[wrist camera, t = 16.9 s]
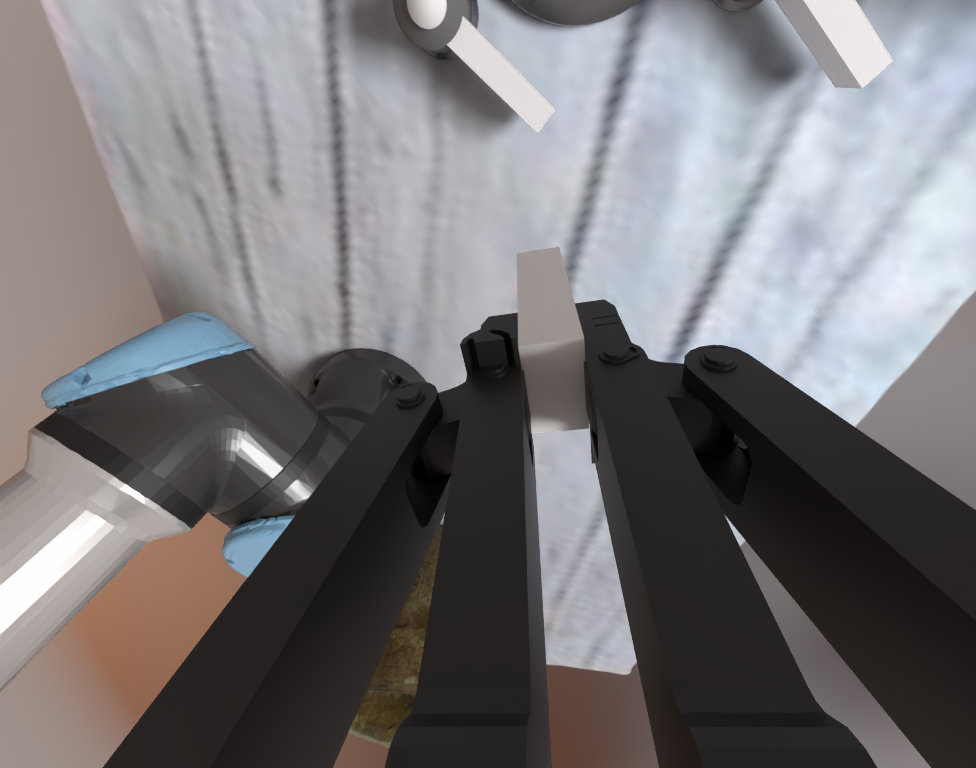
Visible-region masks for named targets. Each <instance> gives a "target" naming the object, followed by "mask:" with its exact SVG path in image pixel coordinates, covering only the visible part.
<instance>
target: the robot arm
mask: <svg viewBox="0 0 976 768" xmlns="http://www.w3.org/2000/svg"><path fill="white" fill-rule="evenodd" d="M517 299H518V313H513V314H505V315H498V316H491V317H488V318H487V319H486V321H485V322H484V323H483V324H482V325H481V330H478V331H475V332H473V333H471V334H469V335H468V336H467V337H465V338H464V339H463V340H462V342H461V344H460V346H461V350H462V354H463V358H464V363H465V367H466V371H467V379H466V382H464V383H463V384H461V385H459V386H457V387H455V388H452V389H449V390H446V391H443V392H440V393H438V392H437V389H436V387H435V386H434V385H432V384H431V383H427V382H426V381H425V380H424V378H423V377H422V376H421V375H420V374H419V373H418V372H417V371H416V370H415V369H414V368H413V367H411V366H410V365H409V364H407V363H406V362H404V361H403V360H401V359H399V358H397V357H395V356H393V355H390V354H387V353H384V352H381V351H376V350H369V349H354V350H348V351H344V352H341V353H338V354H336V355H334V356H333V357H331V358H330V359H328V360H327V361H326V362H325V363H324V364H323V365H322V367H321V368H320V369H319V371H318V372H317V374H316V375H315V377H314V378H313V380H312V383H311V385H310V389H309V395H308V400H307V399H306V398H305V397H304V396H303V395H301V394H300V393H299V392H298V391H297V390H296V389H295V388H294V387H293V386H292V385H291V384H290V383H289V382H288V381H287V380H286V379H285V378H284V377H283V376H282V375H281V374H280V373H279V372H278V371H277V370H276V369H275V368H274V367H273V366H272V365H271V364H270V363H269V362H268V361H267V360H265V359H264V358H263V357H262V356H261V355H260V354H259V353H258V352H257V351H256V350H255V349H254V348H255V346H254V345H253V344H252V343H249V342H247V341H245V340H244V339H243V338H242V337H241V336H240V335H238V334H237V333H236V332H235V331H234V330H233V329H231V328H230V327H229V326H228V325H227V324H226V323H225V322H223V321H222V320H221V319H220V318H218V317H217V316H215V315H213V314H210V313H206V312H190V313H186V314H183V315H180V316H178V317H176V318H173V319H171V320H169V321H167V322H164V323H162V324H160V325H158V326H156V327H154V328H152V329H150V330H148V331H146V332H144V333H142V334H140V335H138V336H136V337H134V338H132V339H130V340H128V341H126V342H124V343H122V344H120V345H118V346H116V347H115V348H113V349H111V350H109V351H107V352H105V353H103V354H101V355H100V356H98V357H96V358H95V359H92V360H91V361H89V362H87V363H86V364H85V365H84V366H81V367H79V368H77V369H76V370H74V371H72V372H71V373H69V374H67V375H64V376H62V377H61V378H59V379H57V380H56V381H54V382H53V383H51V384H50V385H48V386H47V387H45V388H44V390H43V391H42V395H41V396H42V398H43V400H44V401H45V406H46V407H48V408H50V409H54V408H56V409H57V410H56V411H55V412H54V413H53V414H52V415H50V416H49V417H48V418H46V419H45V420H43V421H42V422H40V423H39V424H38V425H36V426H35V427H33V428H32V429H30V430H29V431H28V444H27V460H26V462H25V465H24V467H23V469H22V470H20V471H19V472H18V473H17V474H15V475H14V476H13V477H11V478H10V479H9V480H7V481H6V482H5V483H3V484H2V485H1V486H0V693H1V691H2V690H3V689H4V688H5V687H6V686H7V685H8V684H9V683H10V682H11V681H12V680H13V679H14V678H15V677H16V676H17V675H18V674H19V673H20V672H21V671H22V670H23V669H24V668H25V667H26V666H27V665H28V664H29V663H30V662H31V661H32V660H33V659H34V658H35V657H36V656H37V655H38V654H39V653H40V652H41V651H42V650H43V649H44V648H45V647H46V646H47V645H48V644H49V643H50V642H51V641H52V640H53V639H54V638H55V637H56V636H57V635H58V634H59V633H60V632H61V631H62V630H63V629H64V627H66V626H67V624H68V623H69V622H70V621H71V620H72V619H73V618H74V617H75V616H76V615H77V614H78V613H79V612H80V611H81V610H82V609H83V608H84V607H85V606H86V605H87V604H88V603H89V602H90V601H91V600H92V599H93V598H94V597H95V596H96V595H97V594H98V593H99V592H100V591H101V590H102V589H103V588H104V587H105V586H106V585H107V584H108V583H109V582H110V581H111V580H112V579H113V578H114V577H115V575H117V574H118V573H119V572H120V571H121V570H122V568H124V567H125V566H126V565H127V563H129V561H131V560H132V558H133V557H134V556H135V555H136V554H137V553H138V552H139V551H140V550H141V549H142V548H143V547H144V546H145V545H146V544H147V543H149V542H151V541H153V540H155V539H158V538H163V537H169V536H174V535H179V534H185V533H187V532H189V531H190V530H191V529H192V528H193V527H194V526H195V525H196V524H197V523H198V522H199V521H200V520H201V519H202V517H203V516H204V515H205V514H206V513H210V514H211V515H212V516H214V517H215V518H217V519H218V520H220V521H221V522H223V523H224V524H226V525H227V526H228V527H230V528H231V530H230V532H228V533H227V534H226V536H225V538H224V544H223V549H222V553H223V556H224V558H225V559H226V561H227V563H228V564H229V566H230V567H231V568H233V569H234V570H235V571H237V572H238V573H240V574H242V575H243V576H246V577H248V578H247V579H246V581H245V582H244V583H243V584H242V586H241V587H240V588H239V590H238V591H237V592H236V594H235V595H234V596H233V598H232V599H231V600H230V602H229V603H228V604H227V605H226V607H225V608H224V609H223V611H222V612H221V613H220V615H219V616H218V617H217V619H216V620H215V621H214V623H213V624H212V625H211V626H210V628H209V629H208V630H207V632H206V633H205V634H204V636H203V637H202V638H201V640H200V641H199V642H198V644H197V645H196V646H195V647H194V649H193V650H192V651H191V653H190V654H189V655H188V657H187V658H186V659H185V661H184V662H183V663H182V664H181V666H180V667H179V669H178V670H177V671H176V672H175V674H174V675H173V676H172V678H171V679H170V680H169V682H168V683H167V684H166V685H165V687H164V688H163V689H162V691H161V692H160V693H159V695H158V696H157V697H156V698H155V700H154V701H153V702H152V704H151V705H150V706H149V708H148V709H147V710H146V712H145V713H144V714H143V716H142V717H141V718H140V720H139V721H138V722H137V724H136V725H135V726H134V727H133V729H132V730H131V731H130V733H129V734H128V735H127V736H126V738H125V739H124V740H123V742H122V743H121V744H120V746H119V747H118V748H117V750H116V751H115V752H114V754H113V755H112V756H111V757H110V759H109V760H108V761H107V763H106V764H105V765H104V767H103V768H333V766H334V764H335V761H336V759H337V757H338V755H339V752H340V750H341V748H342V745H343V743H344V741H345V739H346V736H347V734H348V732H349V730H350V727H351V725H352V723H353V720H354V718H355V716H356V714H357V711H358V709H359V707H360V704H361V702H362V700H363V698H364V695H365V693H366V691H367V688H368V686H369V684H370V682H371V679H372V677H373V675H374V673H375V670H376V668H377V666H378V663H379V661H380V659H381V657H382V654H383V652H384V650H385V647H386V645H387V643H388V641H389V638H390V636H391V634H392V632H393V629H394V627H395V625H396V622H397V620H398V618H399V616H400V613H401V611H402V609H403V606H404V604H405V602H406V600H407V597H408V595H409V593H410V590H411V588H412V586H413V584H414V581H415V579H416V577H417V575H418V572H419V570H420V568H421V565H422V563H423V561H424V559H425V556H426V554H427V552H428V549H429V547H430V545H431V543H432V540H433V538H434V536H435V533H436V531H437V529H438V527H439V524H440V522H441V520H442V518H443V515H444V513H445V516H444V522H443V529H442V535H441V541H440V547H439V554H438V560H437V566H436V572H435V579H434V585H433V591H432V597H431V604H430V610H429V616H428V622H427V629H426V635H425V641H424V647H423V654H422V660H421V666H420V672H419V679H418V685H417V691H416V696H415V700H414V704H413V707H412V709H411V712H410V714H409V715H408V716H407V717H406V718H405V719H404V721H403V722H402V723H401V724H400V725H399V726H398V728H397V730H396V733H395V735H394V737H393V740H392V742H391V745H390V749H389V752H388V756H387V761H386V765H385V768H552V758H551V741H550V723H549V706H548V688H547V671H546V653H545V636H544V618H543V600H542V583H541V565H540V548H539V530H538V513H537V495H536V478H535V460H534V446H533V439H532V434H534V433H544V432H555V431H565V430H576V429H586V428H589V424H590V435H591V455H592V463H595V464H596V469H597V474H598V478H599V483H600V488H601V493H602V497H603V502H604V507H605V512H606V516H607V521H608V526H609V531H610V536H611V540H612V545H613V550H614V555H615V559H616V564H617V569H618V574H619V578H620V583H621V588H622V593H623V597H624V602H625V607H626V612H627V616H628V621H629V626H630V631H631V635H632V640H633V645H634V650H635V654H636V659H637V664H638V669H639V674H640V678H641V683H642V688H643V692H644V697H645V702H646V706H647V711H648V716H649V721H650V725H651V731H652V735H653V740H654V745H655V750H656V754H657V759H658V764H659V768H877V767H876V765H875V763H874V762H873V760H872V758H871V757H870V755H869V754H868V752H867V750H866V749H865V748H864V746H863V745H862V744H861V743H860V742H859V741H858V739H857V738H856V737H855V736H854V734H853V733H852V732H851V731H850V730H849V729H848V727H846V726H844V725H843V724H841V723H840V722H839V721H837V720H835V719H834V718H832V717H831V716H829V715H828V714H826V713H825V712H824V711H823V710H822V708H821V707H820V706H819V704H818V703H817V702H816V700H815V699H814V697H813V695H812V693H811V691H810V690H809V688H808V686H807V684H806V682H805V680H804V678H803V676H802V674H801V672H800V670H799V668H798V666H797V664H796V661H795V659H794V657H793V655H792V653H791V651H790V649H789V647H788V645H787V643H786V641H785V639H784V637H783V635H782V633H781V630H780V628H779V627H778V624H777V622H776V620H775V618H774V616H773V614H772V612H771V610H770V608H769V606H768V604H767V602H766V600H765V598H764V596H763V593H762V591H761V589H760V587H759V585H758V583H757V581H756V579H755V577H754V575H753V573H752V571H751V569H750V567H749V565H748V563H747V561H746V559H745V557H744V554H743V552H742V550H741V548H740V546H739V544H738V542H737V540H736V538H735V536H734V534H733V532H732V530H731V528H730V526H729V523H728V521H727V519H726V517H727V518H728V519H729V521H730V522H731V523H732V524H733V525H734V527H735V528H736V529H737V530H738V532H739V533H740V534H741V535H742V536H743V538H744V539H745V540H746V541H747V543H748V544H749V545H750V546H751V547H752V549H753V550H754V551H755V552H756V554H757V555H758V556H759V557H760V559H761V560H762V561H763V562H764V563H765V565H766V566H767V567H768V568H769V570H770V571H771V572H772V573H773V574H774V576H775V577H776V578H777V579H778V581H779V582H780V583H781V584H782V585H783V587H784V588H785V589H786V590H787V591H788V593H789V594H790V595H791V596H792V598H793V599H794V600H795V601H796V602H797V604H798V605H799V606H800V607H801V609H802V610H803V611H804V612H805V614H806V615H807V616H808V617H809V618H810V620H811V621H812V622H813V623H814V625H815V626H816V627H817V628H818V630H819V631H820V632H821V633H822V634H823V636H824V637H825V638H826V639H827V641H828V642H829V643H830V644H831V645H832V647H833V648H834V649H835V650H836V651H837V653H838V654H839V655H840V656H841V658H842V659H843V660H844V661H845V663H846V664H847V665H848V666H849V668H850V669H851V670H852V671H853V672H854V674H855V675H856V676H857V677H858V679H859V680H860V681H861V682H862V683H863V685H864V686H865V687H866V688H867V689H868V691H869V692H870V693H871V694H872V696H873V697H874V698H875V699H876V701H877V702H878V703H879V704H880V705H881V706H882V708H883V709H884V710H885V712H886V713H887V714H888V715H889V716H890V718H891V719H892V720H893V721H894V722H895V724H896V725H897V726H898V727H899V729H900V730H901V731H902V732H903V734H904V735H905V736H906V737H907V738H908V740H909V741H910V742H911V743H912V745H913V746H914V747H915V748H916V749H917V751H918V752H919V753H920V754H921V756H922V757H923V758H924V759H925V760H926V762H927V763H928V764H929V765H930V767H931V768H976V510H975V509H973V508H972V507H970V506H969V505H967V504H966V503H964V502H963V501H961V500H960V499H959V498H957V497H956V496H954V495H953V494H951V493H950V492H948V491H947V490H945V489H944V488H942V487H941V486H940V485H938V484H937V483H935V482H934V481H932V480H931V479H929V478H928V477H926V476H925V475H923V474H922V473H921V472H919V471H918V470H916V469H915V468H913V467H912V466H910V465H909V464H907V463H906V462H905V461H903V460H902V459H900V458H899V457H897V456H896V455H894V454H893V453H892V452H890V451H889V450H887V449H886V448H884V447H883V446H881V445H880V444H878V443H877V442H876V441H874V440H872V439H871V438H870V437H868V436H867V435H865V434H864V433H862V432H861V431H859V430H858V429H857V428H855V427H854V426H852V425H851V424H849V423H848V422H846V421H845V420H844V419H842V418H841V417H839V416H838V415H836V414H835V413H833V412H832V411H830V410H829V409H827V408H826V407H825V406H823V405H822V404H820V403H819V402H817V401H816V400H814V399H813V398H811V397H810V396H809V395H807V394H806V393H804V392H803V391H801V390H800V389H798V388H797V387H795V386H794V385H793V384H791V383H790V382H788V381H787V380H785V379H784V378H782V377H781V376H779V375H778V374H777V373H775V372H774V371H772V370H771V369H769V368H768V367H766V366H765V365H763V364H762V363H761V362H759V361H758V360H756V359H755V358H753V357H752V356H750V355H749V354H747V353H745V352H743V351H741V350H739V349H736V348H732V347H728V346H724V345H709V346H702V347H698V348H696V349H693V350H691V351H690V352H689V353H687V354H686V355H685V360H684V364H679V363H665V362H657V361H654V360H650V359H648V357H647V355H646V353H645V351H644V350H643V349H642V348H641V347H639V346H637V345H635V344H633V343H631V341H630V339H629V336H628V334H627V332H626V330H625V328H624V325H623V323H622V321H621V319H620V317H619V315H618V312H617V310H616V308H615V306H614V305H612V304H611V303H609V302H607V301H606V300H597V301H590V302H583V303H576V304H575V303H574V299H573V296H572V292H571V288H570V285H569V281H568V277H567V274H566V270H565V267H564V263H563V259H562V256H561V252H560V249H559V247H555V248H549V249H543V250H536V251H530V252H524V253H517ZM588 419H589V421H588ZM531 432H532V433H531ZM724 514H725V515H724ZM725 516H726V517H725Z"/></svg>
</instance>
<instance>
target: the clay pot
mask: <svg viewBox="0 0 976 768" xmlns="http://www.w3.org/2000/svg"><path fill="white" fill-rule="evenodd" d="M442 529H443V526H440V525H439V527H438V529H437V531H436V533H435V536H434V538H433V540H432V543H431V545H430V547H429V549H428V552H427V554H426V556H425V559H424V561H423V563H422V565H421V568H420V570H419V572H418V575H417V577H416V579H415V581H414V584H413V586H412V588H411V590H410V593H409V595H408V597H407V600H406V602H405V604H404V606H403V609H402V611H401V613H400V616H399V618H398V620H397V622H396V625H395V627H394V629H393V632H392V634H391V636H390V638H389V641H388V643H387V645H386V647H385V650H384V652H383V654H382V657H381V659H380V661H379V663H378V666H377V668H376V670H375V673H374V675H373V677H372V679H371V682H370V684H369V686H368V688H367V691H366V693H365V695H364V698H363V700H362V702H361V704H360V707H359V709H358V711H357V714H356V716H355V718H354V720H353V723H352V725H351V727H350V730H349V732H348V733H350V734H352V735H355V736H357V737H360V738H362V739H364V740H367V741H370V742H373V743H376V744H380V745H382V746H384V747H387V748H390V745H391V742H392V740H393V737H394V735H395V733H396V730H397V728H398V726H399V725H400V724H401V723H402V722H403V721H404V719H405V718H406V717H407V716H408V715H409V714H410V712H411V709H412V707H413V704H414V700H415V696H416V691H417V685H418V679H419V672H420V666H421V660H422V654H423V647H424V641H425V635H426V629H427V622H428V616H429V610H430V604H431V597H432V591H433V585H434V579H435V572H436V566H437V560H438V554H439V547H440V541H441V535H442Z"/></svg>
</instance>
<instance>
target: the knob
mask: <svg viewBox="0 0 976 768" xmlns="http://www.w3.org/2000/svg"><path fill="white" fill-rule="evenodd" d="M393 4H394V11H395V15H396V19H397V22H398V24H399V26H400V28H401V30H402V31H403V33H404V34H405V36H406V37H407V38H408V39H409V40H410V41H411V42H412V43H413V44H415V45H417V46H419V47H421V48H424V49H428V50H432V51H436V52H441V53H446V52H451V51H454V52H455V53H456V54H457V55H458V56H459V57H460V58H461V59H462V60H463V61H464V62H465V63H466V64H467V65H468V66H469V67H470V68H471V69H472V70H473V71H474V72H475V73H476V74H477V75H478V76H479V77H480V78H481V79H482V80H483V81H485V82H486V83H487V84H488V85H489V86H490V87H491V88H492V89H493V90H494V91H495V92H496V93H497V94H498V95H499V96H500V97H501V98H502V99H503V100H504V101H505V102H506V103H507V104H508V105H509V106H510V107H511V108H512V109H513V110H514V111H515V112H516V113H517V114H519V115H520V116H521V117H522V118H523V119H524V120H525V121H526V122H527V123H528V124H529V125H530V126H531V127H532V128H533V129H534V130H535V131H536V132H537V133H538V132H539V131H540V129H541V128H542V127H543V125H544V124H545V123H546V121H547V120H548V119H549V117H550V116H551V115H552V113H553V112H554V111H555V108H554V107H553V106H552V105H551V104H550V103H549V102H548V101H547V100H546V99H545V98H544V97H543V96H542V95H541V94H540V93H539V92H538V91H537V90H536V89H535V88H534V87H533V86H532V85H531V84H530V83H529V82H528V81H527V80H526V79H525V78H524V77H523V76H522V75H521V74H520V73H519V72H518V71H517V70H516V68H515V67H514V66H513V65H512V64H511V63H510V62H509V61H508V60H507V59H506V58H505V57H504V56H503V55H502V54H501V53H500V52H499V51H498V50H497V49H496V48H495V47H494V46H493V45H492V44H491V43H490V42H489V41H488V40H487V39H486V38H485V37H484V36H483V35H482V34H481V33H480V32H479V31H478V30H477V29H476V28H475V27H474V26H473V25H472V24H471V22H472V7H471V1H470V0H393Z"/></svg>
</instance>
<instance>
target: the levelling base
mask: <svg viewBox="0 0 976 768" xmlns="http://www.w3.org/2000/svg"><path fill="white" fill-rule="evenodd" d="M470 1H471V7H472V22H471V24H472V25H473V26H474V27H475V28H476V29H477V27H478V19H479V12H478V3H477V0H470ZM511 1H512V2H513V3H515V4H516V5H517V6H518V7H519V8H520V9H522V10H523V11H525V12H526V13H528V14H529V15H531V16H533V17H535V18H537V19H539V20H542V21H544V22H547V23H550V24H554V25H558V26H568V27H578V26H589V25H593V24H596V23H600V22H604V21H606V20H608V19H611V18H613V17H616V16H618V15H620V14H621V13H623V12H625V11H626V10H628V9H630V8H631V7H633V6H634V5H636V4H637V3H638V2H640V1H641V0H511ZM713 1H714V2H715V3H716V4H717V5H718V6H719V7H721V8H723V9H725V10H728V11H741V10H745V9H748V8H751V7H753V6H755V5H757V4H759V3H760V2H762V1H763V0H751V1H747V2H735V1H732V0H713ZM422 50H423V51H425V52H426V53H427V54H429V55H430V56H432V57H434V58H438V59H443V60H448V59H453V58H456V57H458V55H457V54H456V53H455V52H454V51H451V52H446V53H441V52H436V51H432V50H428V49H424V48H422Z"/></svg>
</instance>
